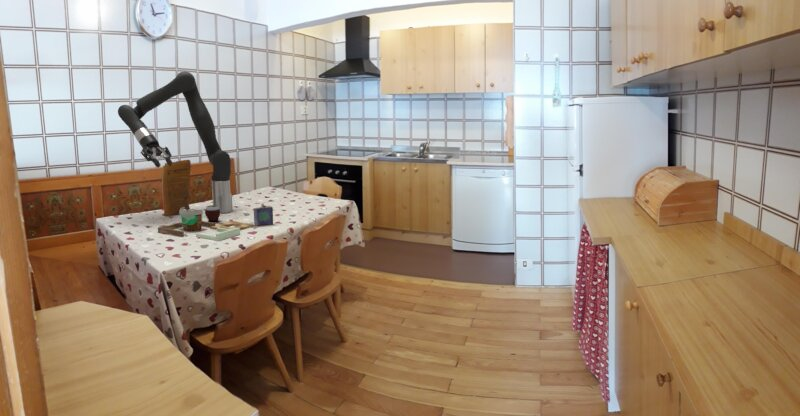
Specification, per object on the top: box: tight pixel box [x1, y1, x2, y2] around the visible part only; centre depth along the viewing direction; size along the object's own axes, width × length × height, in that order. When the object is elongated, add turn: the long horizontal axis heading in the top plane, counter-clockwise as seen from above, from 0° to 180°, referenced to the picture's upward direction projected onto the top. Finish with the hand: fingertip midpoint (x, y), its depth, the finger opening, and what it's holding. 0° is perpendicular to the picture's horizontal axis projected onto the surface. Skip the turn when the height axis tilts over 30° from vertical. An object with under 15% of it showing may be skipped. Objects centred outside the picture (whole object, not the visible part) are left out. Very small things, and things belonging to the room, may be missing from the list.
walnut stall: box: [157, 220, 217, 238], centre depth 239 cm, size 19×15×2 cm
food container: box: [178, 207, 203, 233], centre depth 238 cm, size 12×6×10 cm, turn 62°
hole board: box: [209, 220, 255, 231], centre depth 245 cm, size 14×14×1 cm
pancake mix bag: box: [161, 159, 192, 217], centre depth 270 cm, size 7×19×28 cm, turn 151°
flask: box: [253, 202, 274, 227], centre depth 250 cm, size 9×3×11 cm, turn 120°
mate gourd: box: [204, 192, 223, 224], centre depth 254 cm, size 8×8×15 cm
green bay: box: [195, 227, 241, 242], centre depth 230 cm, size 13×13×3 cm
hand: (165, 165), depth 246 cm, fingers open, 6 cm apart
